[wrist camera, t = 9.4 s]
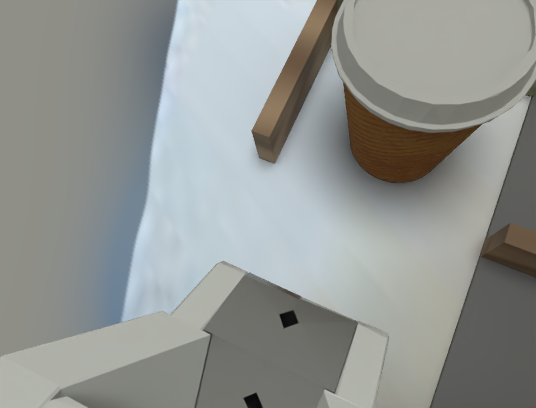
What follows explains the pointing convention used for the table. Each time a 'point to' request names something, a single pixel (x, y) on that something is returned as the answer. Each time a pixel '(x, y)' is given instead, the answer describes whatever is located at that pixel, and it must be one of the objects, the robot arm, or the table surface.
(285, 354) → the robot arm
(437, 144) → the disposable coffee cup
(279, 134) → the walnut corridor
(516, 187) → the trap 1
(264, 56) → the table surface
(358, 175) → the table surface
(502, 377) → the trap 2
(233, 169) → the table surface
